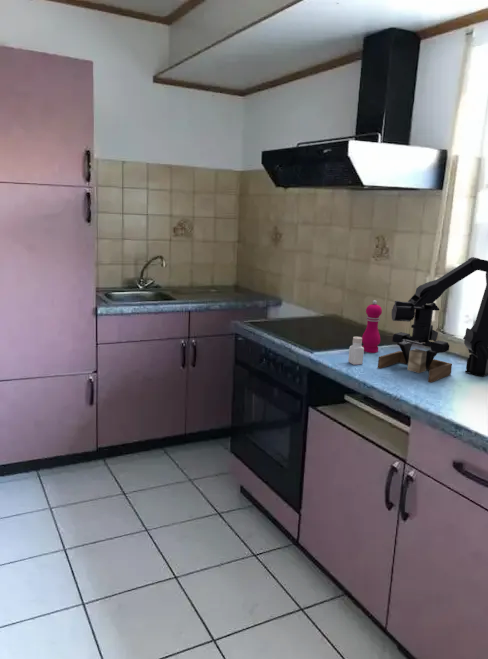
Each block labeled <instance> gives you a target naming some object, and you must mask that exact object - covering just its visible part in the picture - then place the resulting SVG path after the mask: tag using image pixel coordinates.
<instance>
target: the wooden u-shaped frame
mask: <svg viewBox="0 0 488 659" xmlns="http://www.w3.org/2000/svg"><path fill="white" fill-rule="evenodd" d="M399 363H400V364H404V365H407V364H406V361H405V358H404V355H403V353H402V350H398V351H395V352H394V351H393V352H391V353H387V354H384V355H381V356H378V361H377V369H383V368H386V367H390V366H392V365H397V364H399ZM452 367H453V364H452V362H447V361H443V360H439V359H435V358H434V359H433V360H432V362H431V364H430V366H429V368H428V369H426V371H428V378H427V382H428V383H430V384H431V383H434V382H436V381H439V380H441V379H443V378H447V377H449V376H451V374H452Z"/></svg>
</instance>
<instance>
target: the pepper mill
mask: <svg viewBox="0 0 488 659" xmlns="http://www.w3.org/2000/svg"><path fill="white" fill-rule="evenodd" d="M371 302H372V304H369V305H367V306H366V309H365V312H366V315H367V316H366V321H367V323H366V328H365V330H364V332H363V334H362V336H361V337H362V344H363V345H362V344H361V346H362V347H363V348H364V353H370V354H375V353H376V354H377V353H378V352H379V346H378V345H379V344H380V343H381V335H380V331H379V327H378V326H379V322H380V319H381V317H380V316H381V315H382V314H383V309H382V307H381V306H380V305H379V304H378V301H377V300H376V299H373V301H371Z"/></svg>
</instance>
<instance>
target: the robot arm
mask: <svg viewBox="0 0 488 659" xmlns="http://www.w3.org/2000/svg"><path fill="white" fill-rule="evenodd" d="M477 271H481V272H485V288H484V291H483V295H482V299H481V301H480V304H479V307H478V308H479V309H478V311H477V315H476V319H475V321H474V324H473V326H471V328H468V327H467V328H466V329H465V335H464V336H463V337H462V339H463V340H464V341H463V342H464V343H463V344H464V346H465V347H466V348H467V351H468V353H469V355H468V358H467V359H466V365H465V366H466V367H465V370H464V373H466V374H470V375H473V376H474V375H475V376H478V377H486V376H488V260H486V259H480V258H478V257H475V256H474V257H469V258H468V259H467V260H466V261H464V262H462V263H461V264H459V265H458V266H456V267H455V268H453V269H452V270H450V271H448V272H446V273H445V274H443V275H442V276H441V277H439V278H437V279H435V280H431V281H428V282H426V283H423V284H421V285H418V287H416V289H415V293H414V294H413V295H412V296H411V297H410V298H409V300H407V301H400V300H394V304H393V306H392V309H391V320H392V321H393V322H408V323H409V322H411V321H413V324H411V328H412V334H411V333H407V332H400V331H399V332H397V333H394V334H392V336H391V337H392V338H391V342H393V343H397V344H396V345H397V346H399V348H400V351H402V353H403V355H404V358H405V361H406V364H405V365H408V361H409V353H410V350H412V349H411V348H412V346H413V344H415V345H418V346H423V347H424V346H425V347H427V348H428V347H429V349H428V350H426V351H427V354H426V370H427V369H428V368H429V366H430V364H431V362H432V360H433V359H435V357H436V356H437V354H440V353H444V352H448V351H450V344H449V342H447V341H443V340H440V339H439V340H437V338H438V335H439V332H438V331H437V330H434V329H433V328H434V326H433V325H432V320H433V313H434V311H440V307H438V306H437V304H436V303H435V302H436V301H437V300H438V299H439V298H440V297H441V296H442V295H443V293H444V292H445V291H446V290H448V289H449V288H451V287H453V286H454V285H455V284H457V283H459V282H460V281H461V280H464V279H465V278H467V277H468V276H470V275H471V274H473V273H474V272H477Z"/></svg>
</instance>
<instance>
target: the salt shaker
mask: <svg viewBox="0 0 488 659" xmlns="http://www.w3.org/2000/svg"><path fill="white" fill-rule="evenodd" d="M362 344H363V343H362V336H353V337H352V344H351V345H350V346H349V349H348V363H350V364H352V365H354V366H355V365H356V366H357V365H363V361H364V353H365V352H364V348H363V347H362Z"/></svg>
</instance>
